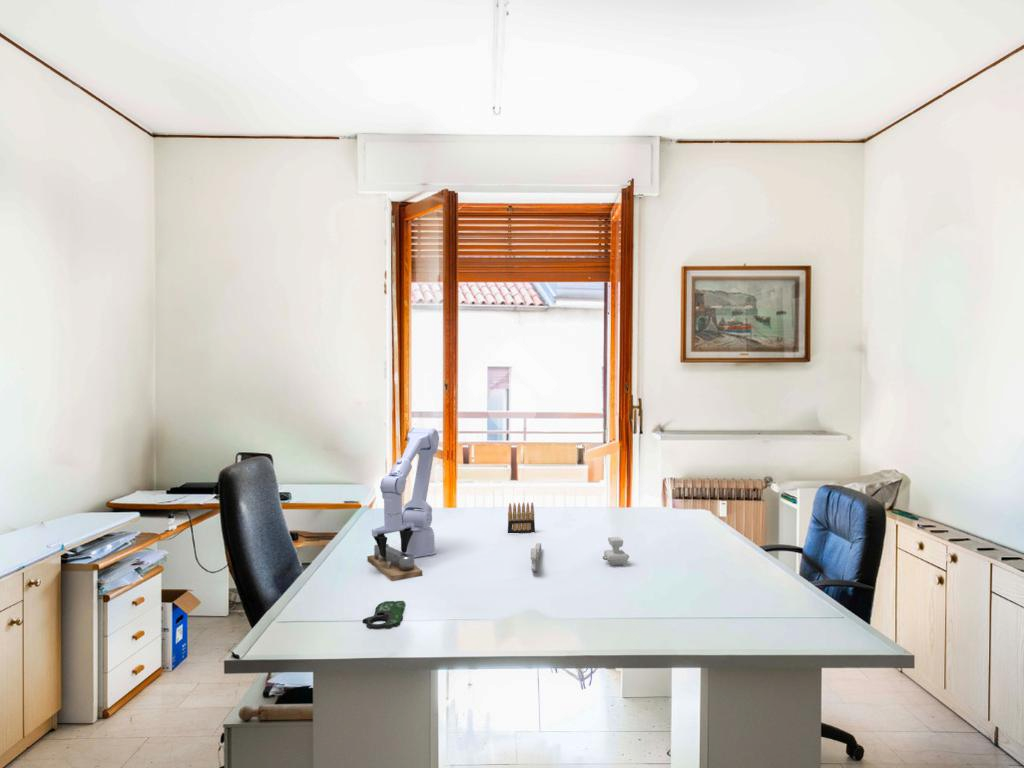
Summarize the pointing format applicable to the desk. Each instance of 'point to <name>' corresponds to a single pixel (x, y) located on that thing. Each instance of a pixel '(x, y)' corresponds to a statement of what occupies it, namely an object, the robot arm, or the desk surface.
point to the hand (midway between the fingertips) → (393, 554)
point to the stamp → (615, 552)
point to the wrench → (535, 556)
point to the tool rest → (393, 569)
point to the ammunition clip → (526, 520)
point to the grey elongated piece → (396, 558)
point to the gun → (386, 615)
